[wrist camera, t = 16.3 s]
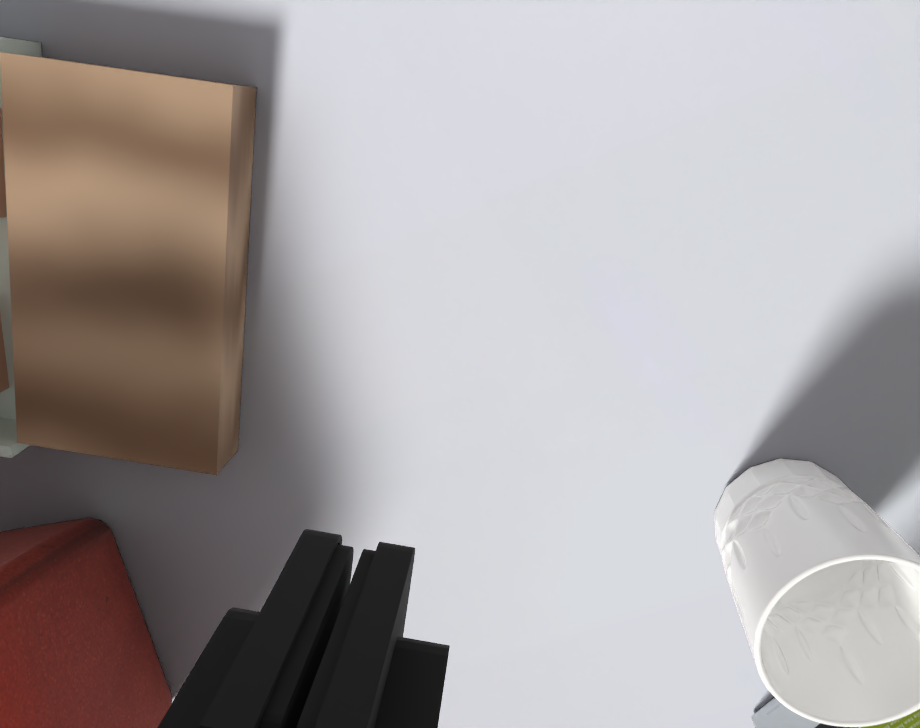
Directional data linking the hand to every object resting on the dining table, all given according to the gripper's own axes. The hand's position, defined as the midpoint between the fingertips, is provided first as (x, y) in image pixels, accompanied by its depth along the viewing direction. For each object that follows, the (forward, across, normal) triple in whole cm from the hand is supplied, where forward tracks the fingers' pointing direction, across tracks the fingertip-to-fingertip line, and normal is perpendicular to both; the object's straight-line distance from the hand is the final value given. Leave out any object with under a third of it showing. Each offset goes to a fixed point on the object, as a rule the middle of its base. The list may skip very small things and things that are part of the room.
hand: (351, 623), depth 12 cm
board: (+27, +16, +2) cm, 31 cm away
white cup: (+27, -17, +10) cm, 34 cm away
